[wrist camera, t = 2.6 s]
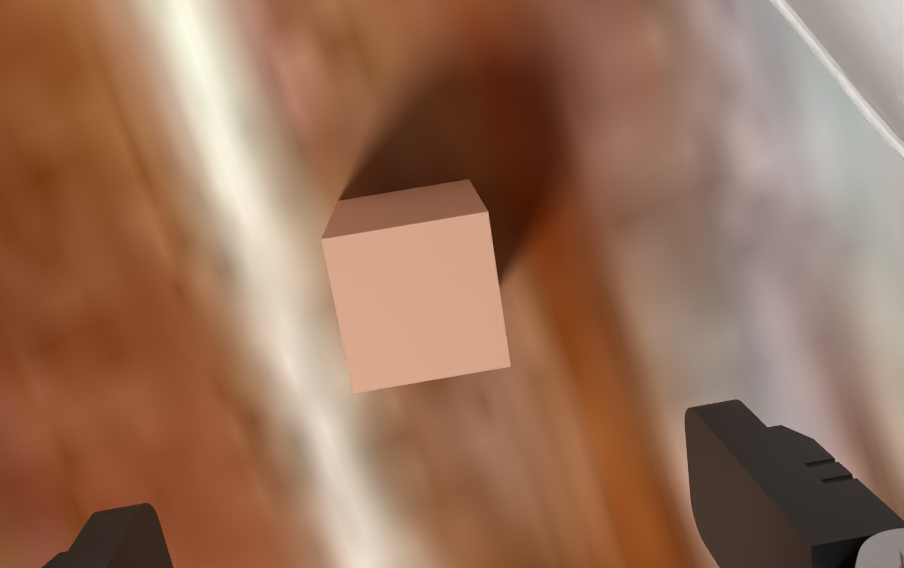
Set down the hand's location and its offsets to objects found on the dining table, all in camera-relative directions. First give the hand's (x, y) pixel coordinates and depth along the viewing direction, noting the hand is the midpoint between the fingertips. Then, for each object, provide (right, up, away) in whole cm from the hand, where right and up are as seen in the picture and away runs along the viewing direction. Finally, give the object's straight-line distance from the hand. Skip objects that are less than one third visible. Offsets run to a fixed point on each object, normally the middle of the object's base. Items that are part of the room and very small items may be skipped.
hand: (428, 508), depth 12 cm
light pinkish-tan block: (-1, +4, +16) cm, 16 cm away
